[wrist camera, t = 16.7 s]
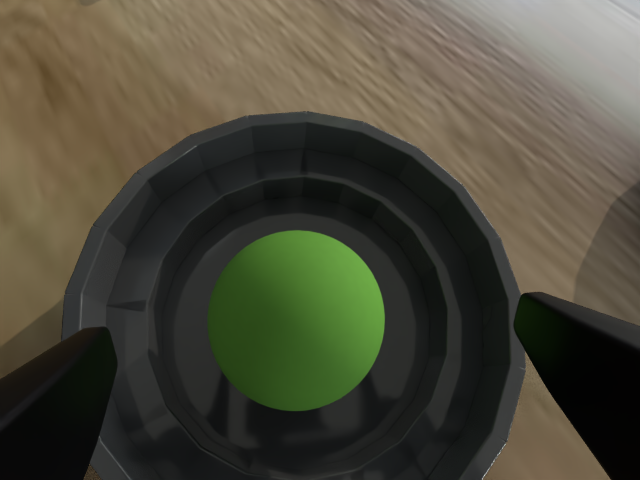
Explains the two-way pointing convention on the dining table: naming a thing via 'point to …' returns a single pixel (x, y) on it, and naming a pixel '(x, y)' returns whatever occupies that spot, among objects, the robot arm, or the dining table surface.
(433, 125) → the dining table surface
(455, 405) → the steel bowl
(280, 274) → the ball
